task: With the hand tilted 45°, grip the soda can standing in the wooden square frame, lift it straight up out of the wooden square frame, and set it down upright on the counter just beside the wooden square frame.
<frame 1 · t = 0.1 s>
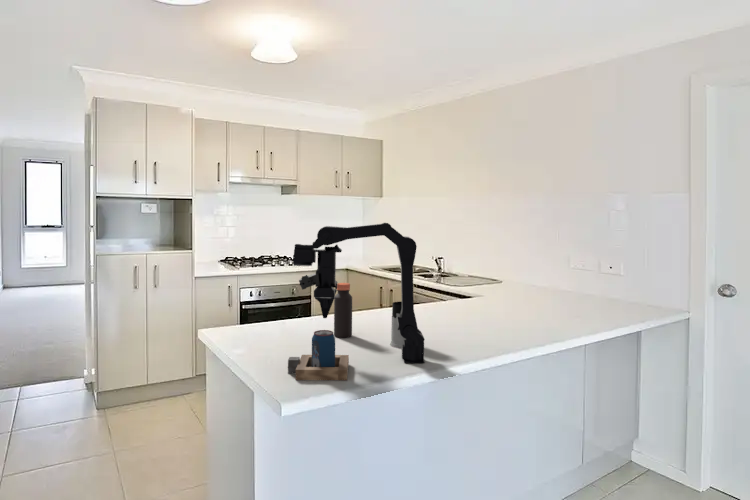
hand: (325, 314, 161), 15 cm above the countertop, tool pointing down, fingers open, 9 cm apart
bottle: (342, 336, 193), on the countertop
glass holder: (399, 343, 184), on the countertop
soda can: (323, 372, 151), resting in wooden square frame
wooden square frame: (323, 371, 151), on the countertop
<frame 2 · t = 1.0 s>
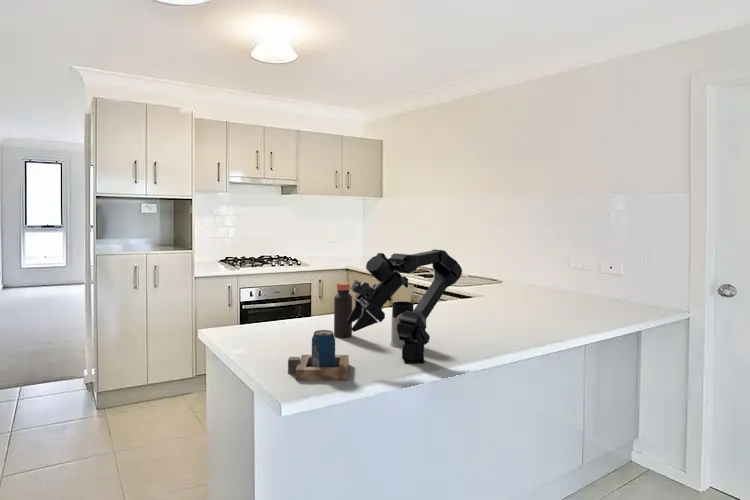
hand: (350, 326, 152), 13 cm above the countertop, tool tilted 45°, fingers open, 9 cm apart
nothing on the countertop moved.
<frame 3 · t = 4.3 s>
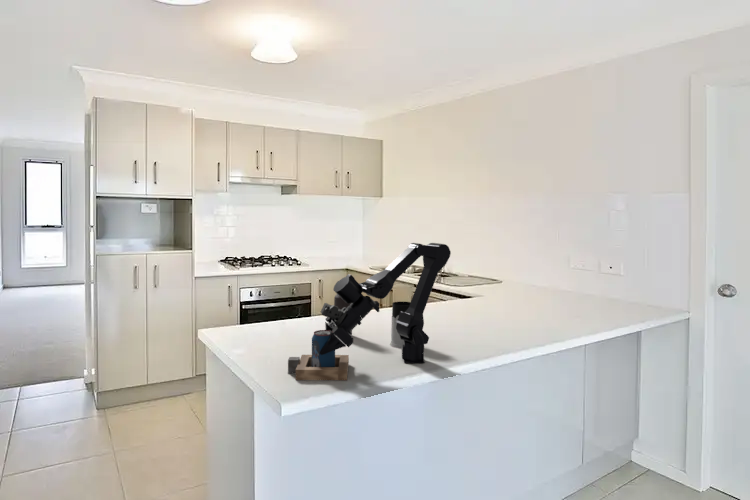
hand: (318, 350, 150), 7 cm above the countertop, tool tilted 45°, fingers closed on soda can, 7 cm apart
soda can: (323, 372, 151), resting in wooden square frame, touching gripper
everything else where it was.
when the fingers open (8 cm above the countertop, at t = 9.3 s): soda can drops 1 cm, on the countertop.
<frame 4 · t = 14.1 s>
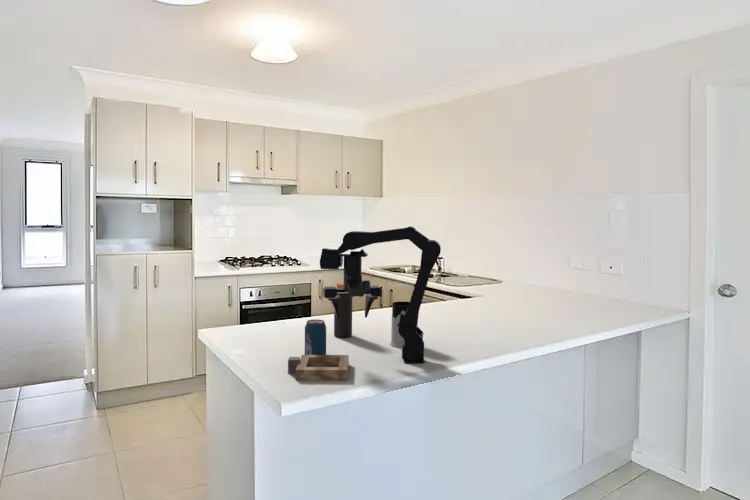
hand: (351, 317, 165), 13 cm above the countertop, tool pointing down, fingers open, 9 cm apart
soda can: (315, 358, 165), on the countertop
everything else where it was.
at the end: soda can inside the target area (0.3 cm from its centre), on the countertop; soda can tilted 0°; soda can touching countertop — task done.
